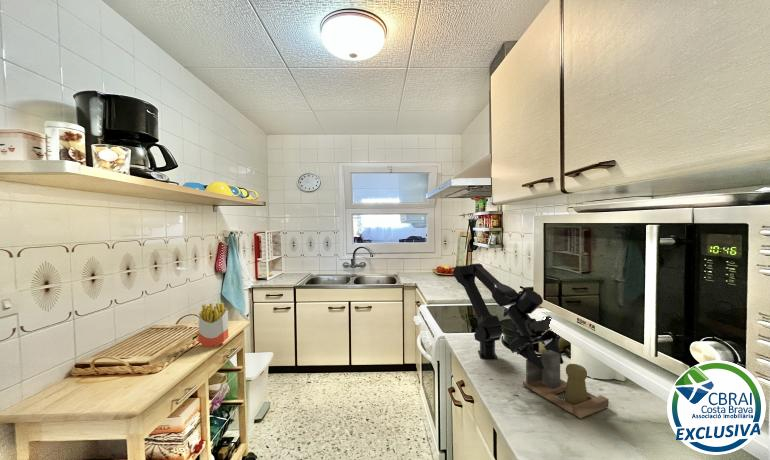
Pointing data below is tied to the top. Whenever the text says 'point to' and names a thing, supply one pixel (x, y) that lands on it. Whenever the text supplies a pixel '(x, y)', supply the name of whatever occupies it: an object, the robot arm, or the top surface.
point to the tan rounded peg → (576, 384)
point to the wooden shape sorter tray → (558, 386)
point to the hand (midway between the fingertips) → (552, 366)
